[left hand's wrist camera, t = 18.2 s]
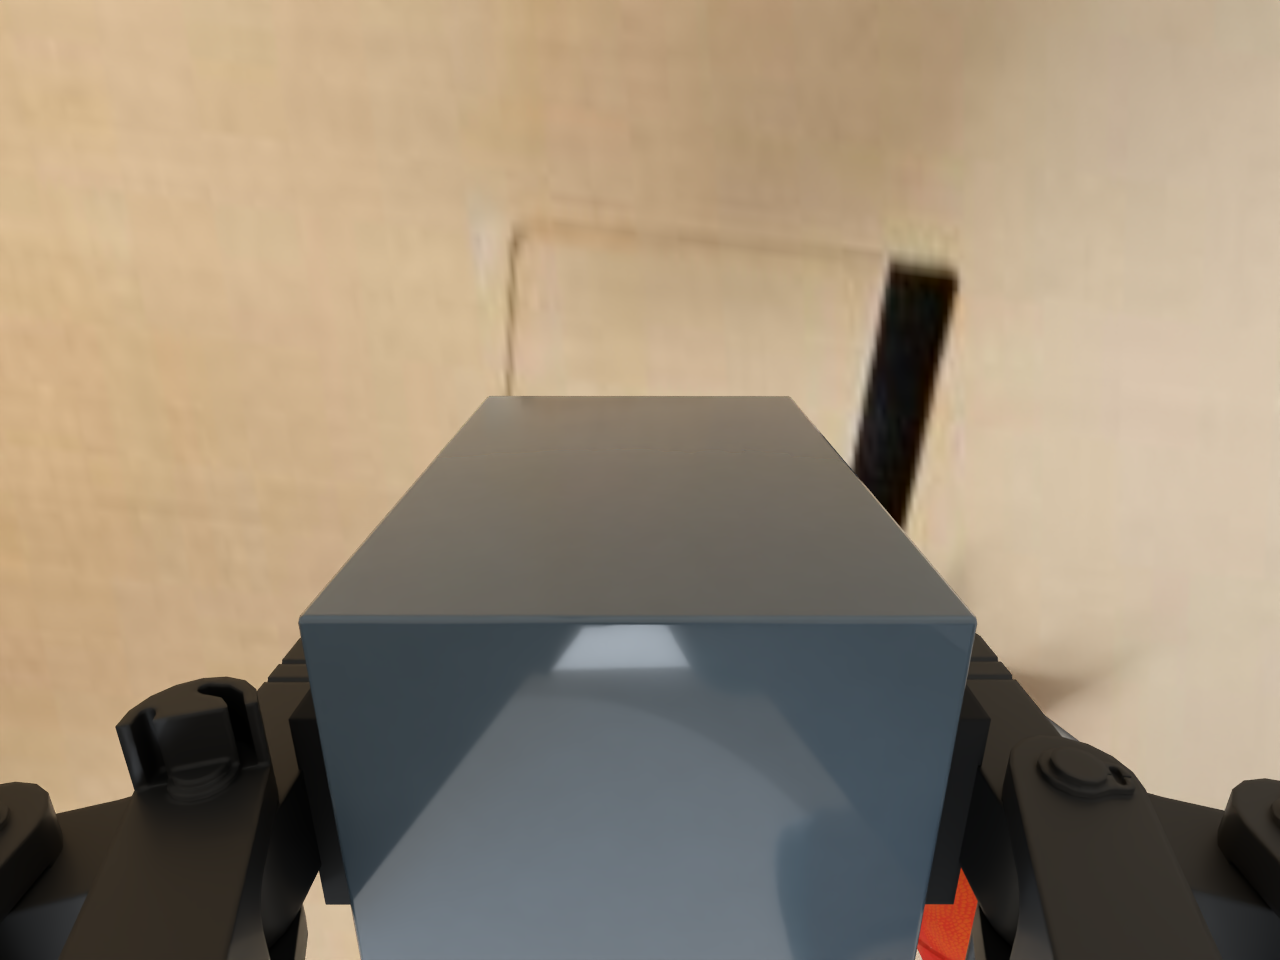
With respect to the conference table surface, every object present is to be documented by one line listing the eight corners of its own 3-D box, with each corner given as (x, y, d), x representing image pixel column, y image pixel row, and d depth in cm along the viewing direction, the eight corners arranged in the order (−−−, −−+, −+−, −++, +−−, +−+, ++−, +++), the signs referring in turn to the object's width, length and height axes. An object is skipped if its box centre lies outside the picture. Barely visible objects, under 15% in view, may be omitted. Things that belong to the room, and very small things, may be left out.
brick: (791, 395, 14) (981, 619, 6) (771, 658, 16) (896, 1075, 8) (487, 395, 14) (293, 618, 6) (506, 658, 16) (379, 1074, 8)
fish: (738, 968, 30) (924, 1174, 21) (781, 590, 31) (974, 627, 22) (930, 942, 34) (1154, 1103, 25) (961, 611, 35) (1184, 649, 26)
